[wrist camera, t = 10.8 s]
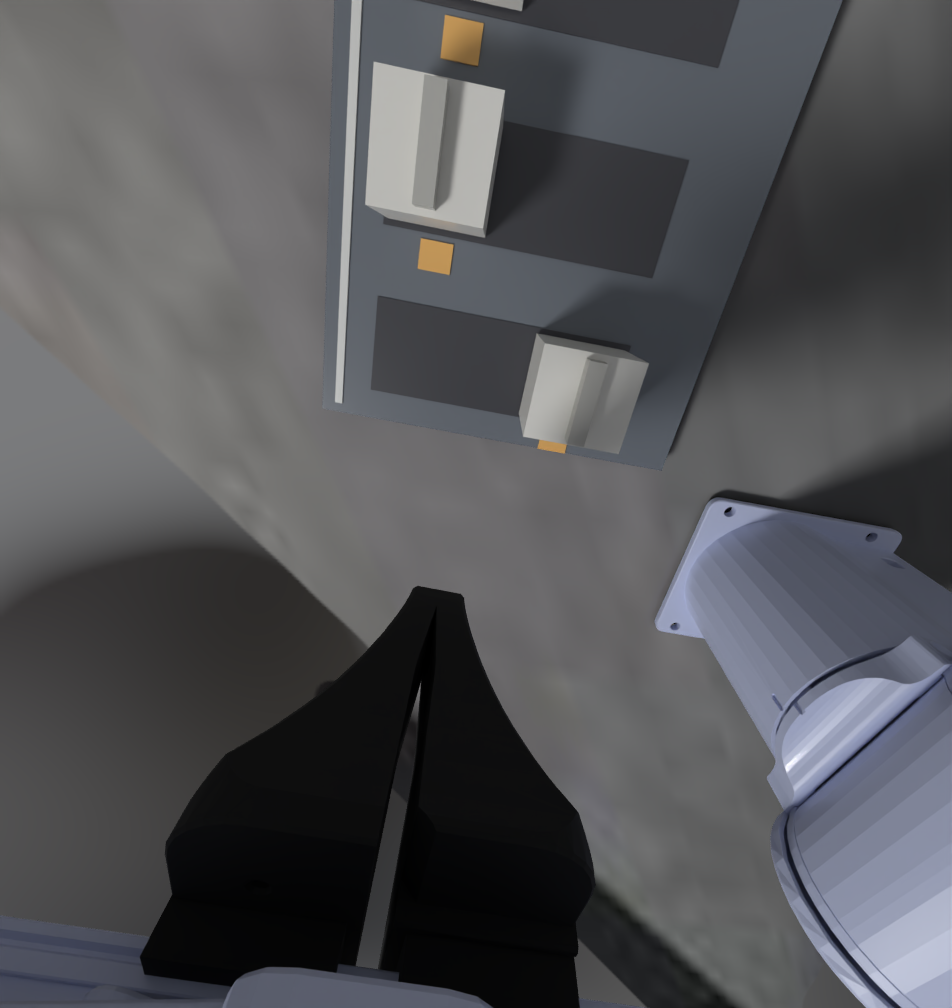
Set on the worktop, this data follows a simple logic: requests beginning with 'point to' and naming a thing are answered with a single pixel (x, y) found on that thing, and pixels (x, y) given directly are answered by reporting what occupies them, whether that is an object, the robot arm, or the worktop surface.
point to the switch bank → (561, 201)
